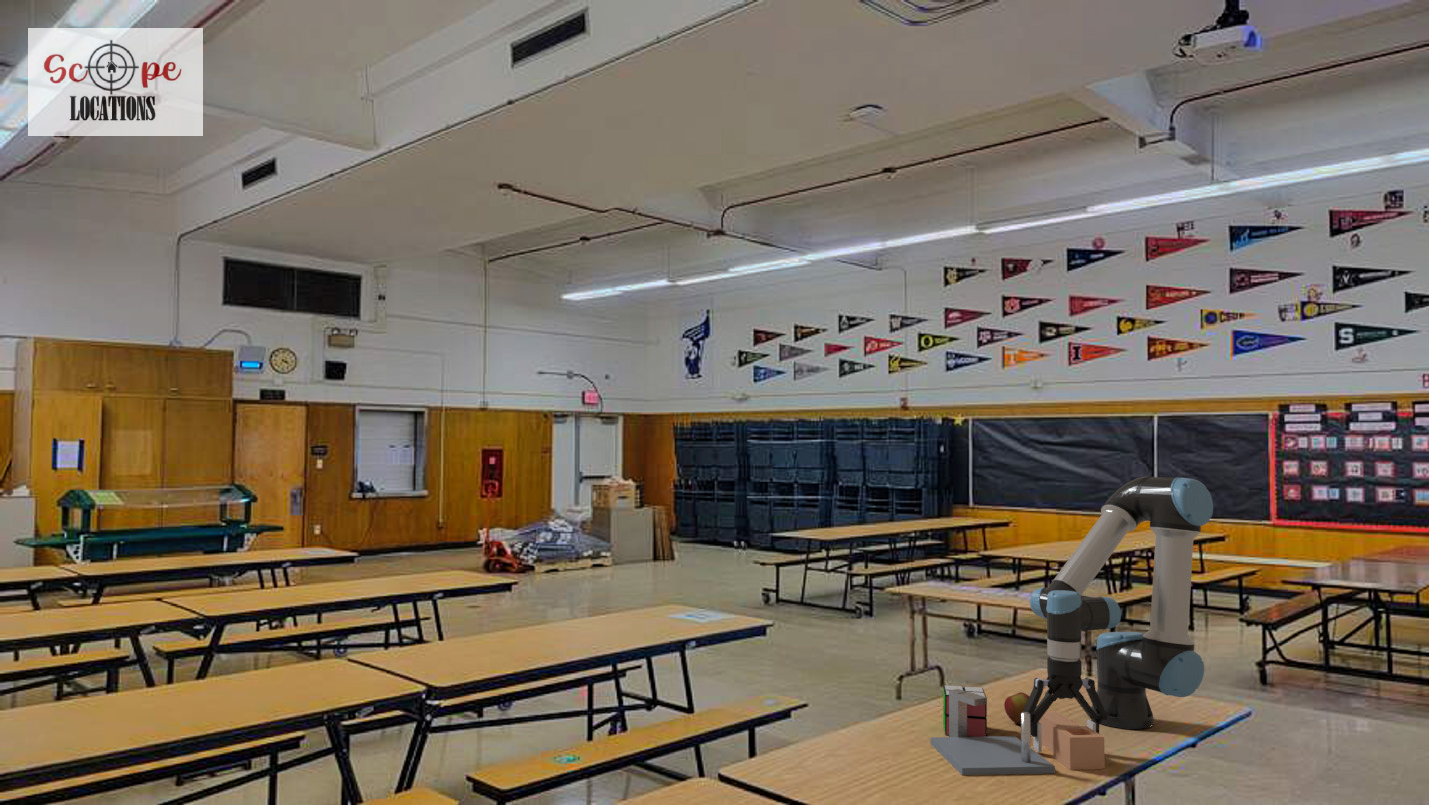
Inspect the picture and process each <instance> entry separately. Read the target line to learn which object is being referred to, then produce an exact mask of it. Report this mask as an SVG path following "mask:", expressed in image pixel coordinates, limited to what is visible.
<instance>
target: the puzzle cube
mask: <svg viewBox="0 0 1429 805" xmlns="http://www.w3.org/2000/svg"><path fill="white" fill-rule="evenodd" d="M954 689H960V690H963V691H966V692H971V693H975V694H978V695H981V696H984V697H987V696H986V693H985V690H984V688H983V687H977V686H964V687H963V686H961V685H960V686H958V685H945V684H944V685H943V688H942V691H943V693H942V694H943V696H942V697H943V698H942V699H943V700H942V702H943V707H942V708H943V709H942V710H943V712H942V723H943V724H942V725H943V729H944V734H945V736H947V737H949V690H954ZM987 705H988V703H987V704H984V705H978V706H973V705H970V704H967V737H988V730H987V729H988V727H987V725H988V720H987V717H988V706H987Z"/></svg>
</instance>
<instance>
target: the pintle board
mask: <svg viewBox="0 0 1429 805" xmlns="http://www.w3.org/2000/svg"><path fill="white" fill-rule="evenodd" d="M930 745H931V746H932V747H933V748H934V749H935V750H936V751H937V752H938V753H939V754H940V755H941V756H942V757H943V758H944V759H945V760H946V761H947V762H948V763H950V764H951V765H952V766H953V768H955V769H956V771H957V772H959V773H960V775H961V776H978V775H979V776H981V775H983V776H984V775H986V776H987V775H989V776H990V775H1032V774H1033V775H1034V774H1035V775H1037V774H1038V775H1039V774H1055V773H1056V766H1055V765H1054V764H1053V763H1051V762H1050V761H1049V760H1047V759H1046V758H1044V757H1043V756H1042V755H1041V754H1040V753H1039V752H1037V751H1036V750H1035V749H1033V748H1031V762H1030V763H1025V762H1022V761H1021V739H1019V738H1018V737H1017V736H1015V735H1008V736H1007V735H1006V736H1005V735H1004V736H1003V735H1001V736H1000V735H999V736H987V737H949V736H947V737H946V736H943V737H941V736H940V737H939V736H937V737H933V736H932V737H930Z"/></svg>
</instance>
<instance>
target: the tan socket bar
mask: <svg viewBox="0 0 1429 805" xmlns="http://www.w3.org/2000/svg"><path fill="white" fill-rule="evenodd" d="M1039 723H1041V724H1042V747H1045V748H1046V749H1048V751H1050V752H1052V753H1053V759H1055V760H1056V761H1058V762H1059V763H1060V764H1061V765H1063V766H1064V767H1066V768H1067V769H1069V770H1073V771H1074V770H1077V771H1078V770H1104V769H1103V768H1106V767H1105V764H1106V763H1105V736H1104V735H1101V734H1100V733H1099V734H1098V733H1097V732H1095V731H1094V730H1092V729H1090V728H1089V727H1087V725H1084V726H1082V725H1079V724H1077V723H1076V722H1074V721H1073V720H1071V719H1070V718H1068V717H1066V716H1064V715H1062V714H1061V713H1059V712H1058V711H1056V710H1047V711H1046V712H1045V714H1044V715H1043V716H1042V718H1041V719H1040V720H1039Z"/></svg>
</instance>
